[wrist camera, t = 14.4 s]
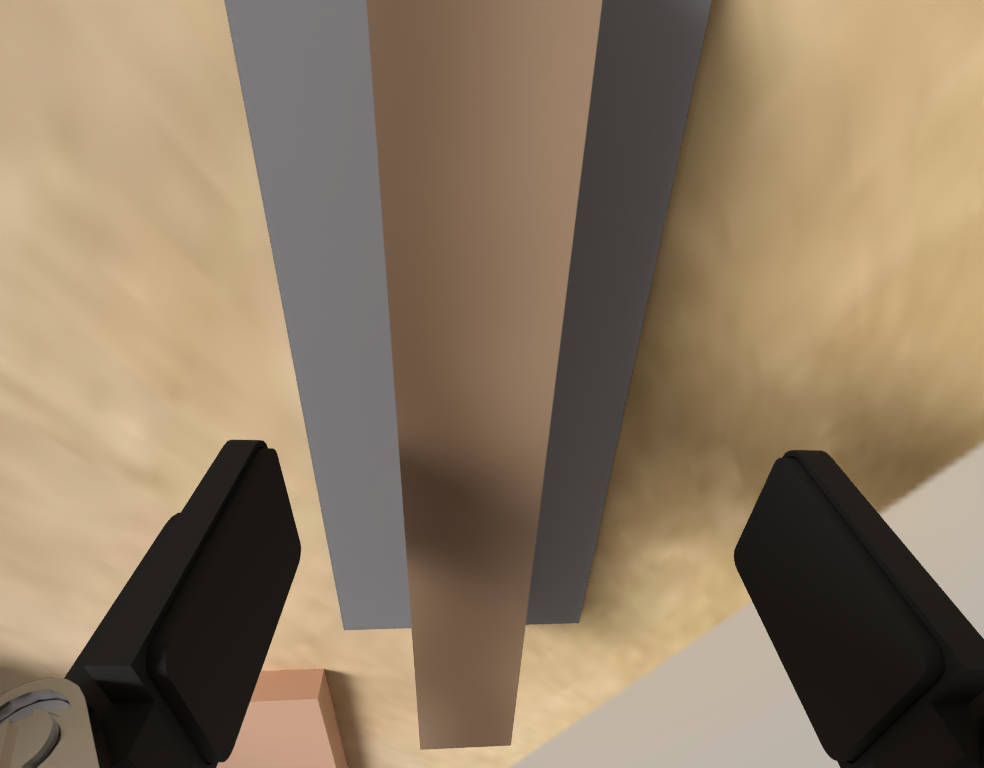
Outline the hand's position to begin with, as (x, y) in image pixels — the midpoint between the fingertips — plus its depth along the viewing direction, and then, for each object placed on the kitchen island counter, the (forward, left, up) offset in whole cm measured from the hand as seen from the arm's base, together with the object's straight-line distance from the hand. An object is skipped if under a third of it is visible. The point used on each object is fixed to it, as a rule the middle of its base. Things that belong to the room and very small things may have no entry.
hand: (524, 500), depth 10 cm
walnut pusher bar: (+1, +1, -6) cm, 6 cm away
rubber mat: (+1, +1, -7) cm, 7 cm away
